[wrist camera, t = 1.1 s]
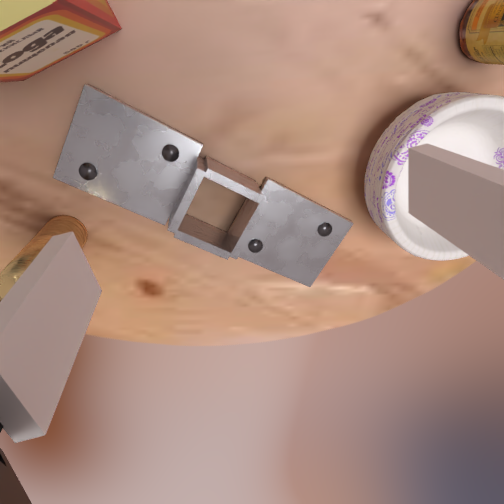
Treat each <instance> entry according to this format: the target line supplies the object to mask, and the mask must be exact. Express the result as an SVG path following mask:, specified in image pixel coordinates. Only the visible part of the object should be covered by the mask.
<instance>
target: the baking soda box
mask: <svg viewBox="0 0 504 504" xmlns="http://www.w3.org/2000/svg"><path fill="white" fill-rule="evenodd" d="M121 29H122V28H121V26H120V24H119V23H118V21H117V19H116V17H115V15H114V13H113V11H112V9H111V7H110V5H109V4H108V2H107V0H0V82H11V81H23V80H26V79H28V78H29V77H31V76H33V75H35V74H37V73H39V72H41V71H43V70H45V69H47V68H48V67H50V66H52V65H54V64H56V63H58V62H60V61H62V60H64V59H66V58H67V57H69V56H71V55H73V54H75V53H77V52H79V51H81V50H83V49H85V48H86V47H88V46H90V45H92V44H94V43H96V42H98V41H100V40H102V39H104V38H105V37H107V36H109V35H111V34H113V33H115V32H117V31H119V30H121Z"/></svg>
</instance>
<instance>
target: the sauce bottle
mask: <svg viewBox="0 0 504 504" xmlns="http://www.w3.org/2000/svg"><path fill="white" fill-rule="evenodd" d="M459 35H460V46H461V49H462V51H463V52H464V53H465V54H466V55H467V56H468V57H469V58H470V59H472V60H475V61H477V62H480V63H485V64H503V65H504V0H474V1H473V2H472V3H471V5H470V6H469V7H468V9H467V11H466V12H465V15H464V17H463V18H462V21H461V23H460V28H459Z"/></svg>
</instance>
